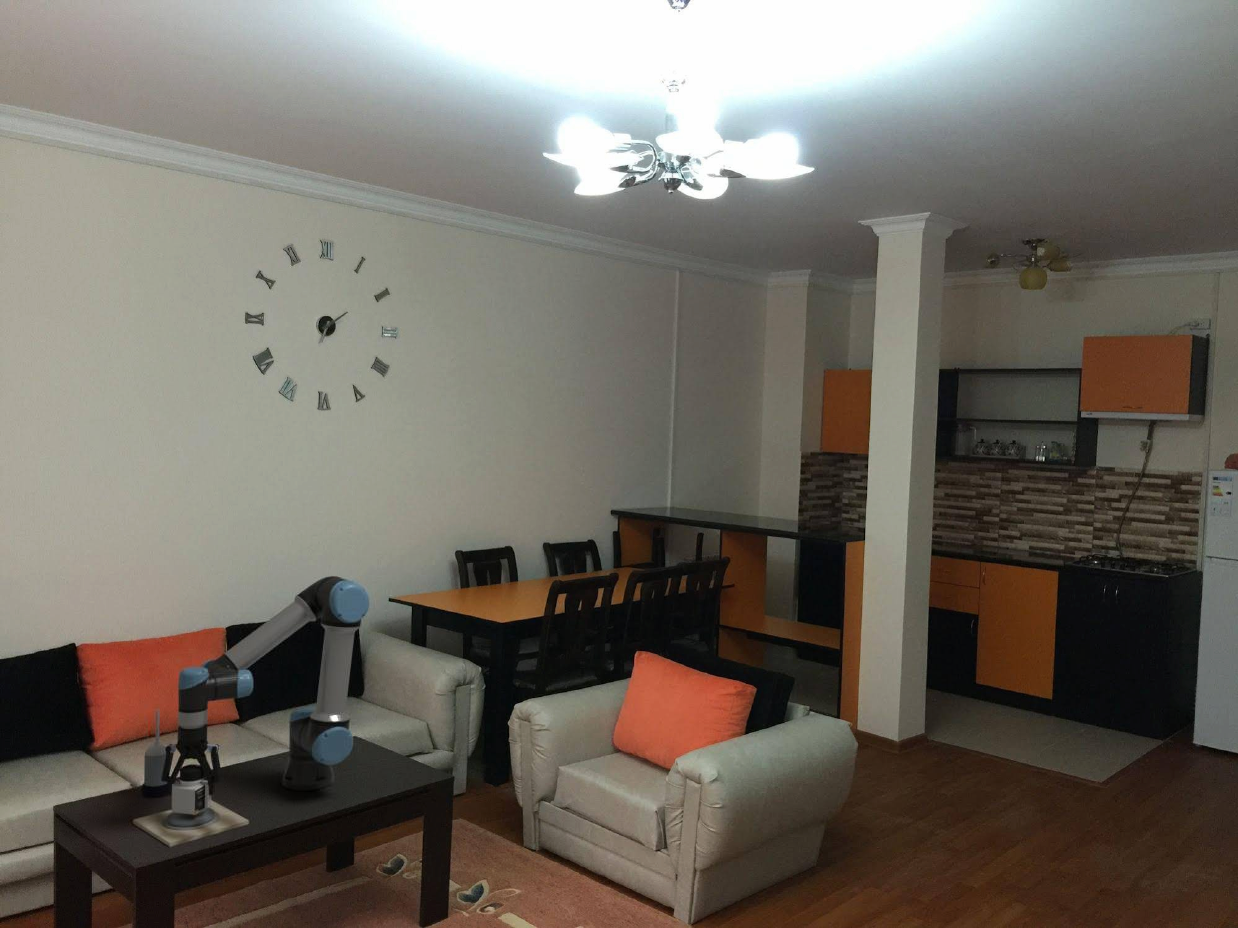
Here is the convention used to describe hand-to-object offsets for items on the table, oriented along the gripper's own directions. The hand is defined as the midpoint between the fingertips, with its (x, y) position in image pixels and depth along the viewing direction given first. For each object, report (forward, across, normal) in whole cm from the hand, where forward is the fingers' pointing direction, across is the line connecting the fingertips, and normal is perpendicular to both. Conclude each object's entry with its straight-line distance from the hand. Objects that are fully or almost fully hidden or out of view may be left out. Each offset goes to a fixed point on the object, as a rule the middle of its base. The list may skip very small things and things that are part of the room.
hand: (191, 806), depth 283 cm
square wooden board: (+5, 0, 0) cm, 5 cm away
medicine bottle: (+1, 0, 0) cm, 1 cm away
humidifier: (+5, +18, -23) cm, 30 cm away
